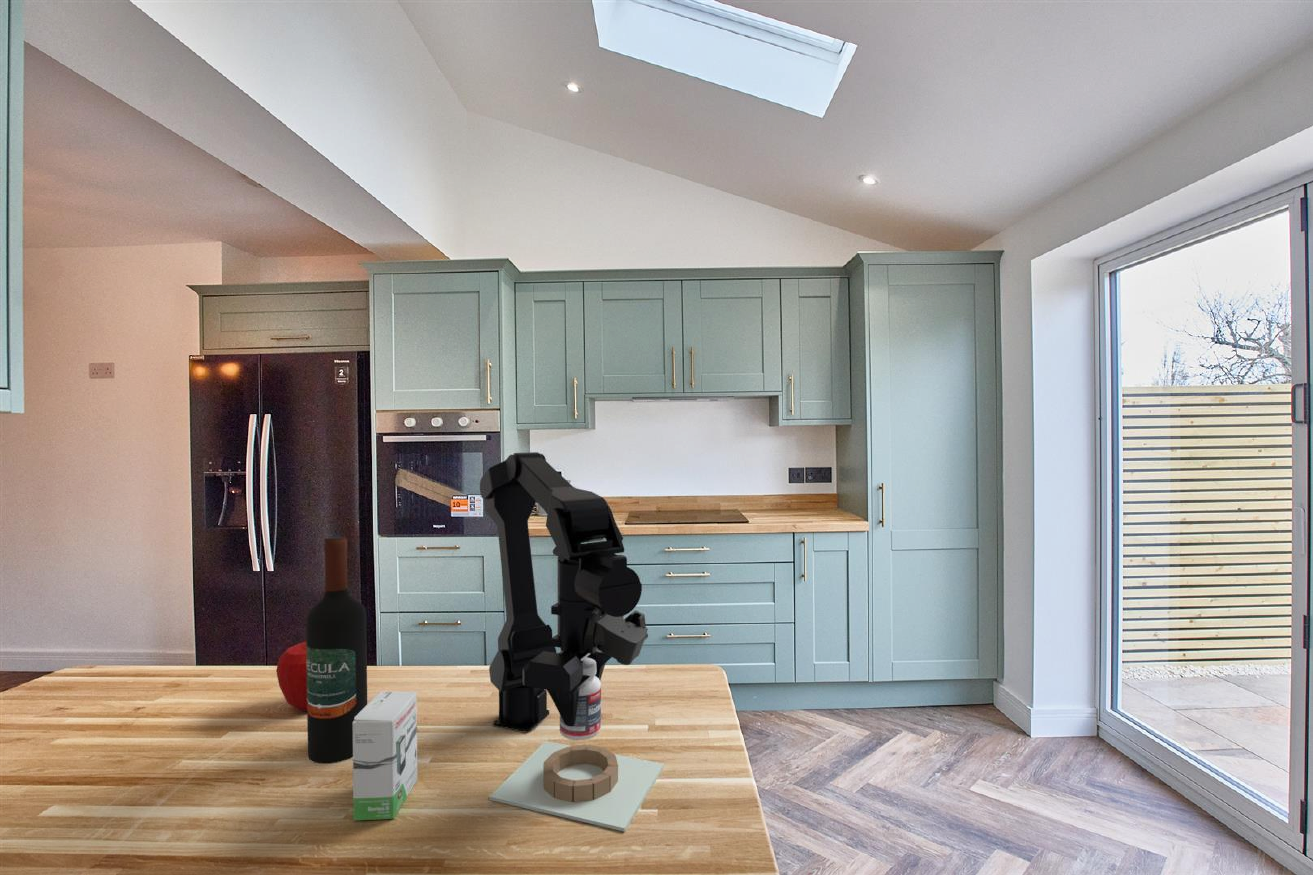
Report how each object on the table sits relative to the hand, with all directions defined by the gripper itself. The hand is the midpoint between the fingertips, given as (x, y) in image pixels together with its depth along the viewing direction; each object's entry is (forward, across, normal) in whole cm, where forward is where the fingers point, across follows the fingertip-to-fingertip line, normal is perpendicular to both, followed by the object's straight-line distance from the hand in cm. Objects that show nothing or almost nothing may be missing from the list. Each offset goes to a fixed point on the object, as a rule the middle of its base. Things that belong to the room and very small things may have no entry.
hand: (579, 715), depth 80 cm
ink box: (+9, -11, +21) cm, 25 cm away
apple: (+9, +5, +51) cm, 52 cm away
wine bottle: (+9, -4, +36) cm, 37 cm away
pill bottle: (+2, 0, 0) cm, 2 cm away
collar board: (+9, 0, 0) cm, 9 cm away
